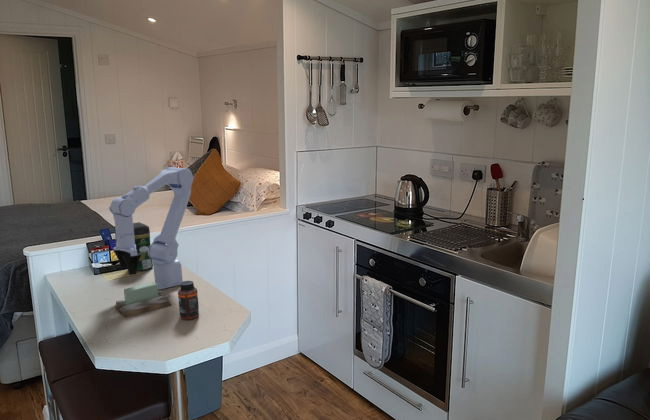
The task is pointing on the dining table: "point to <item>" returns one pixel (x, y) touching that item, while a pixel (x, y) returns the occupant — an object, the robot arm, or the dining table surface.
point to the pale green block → (140, 293)
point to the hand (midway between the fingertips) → (128, 271)
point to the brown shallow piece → (142, 305)
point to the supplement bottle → (188, 300)
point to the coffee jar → (142, 245)
